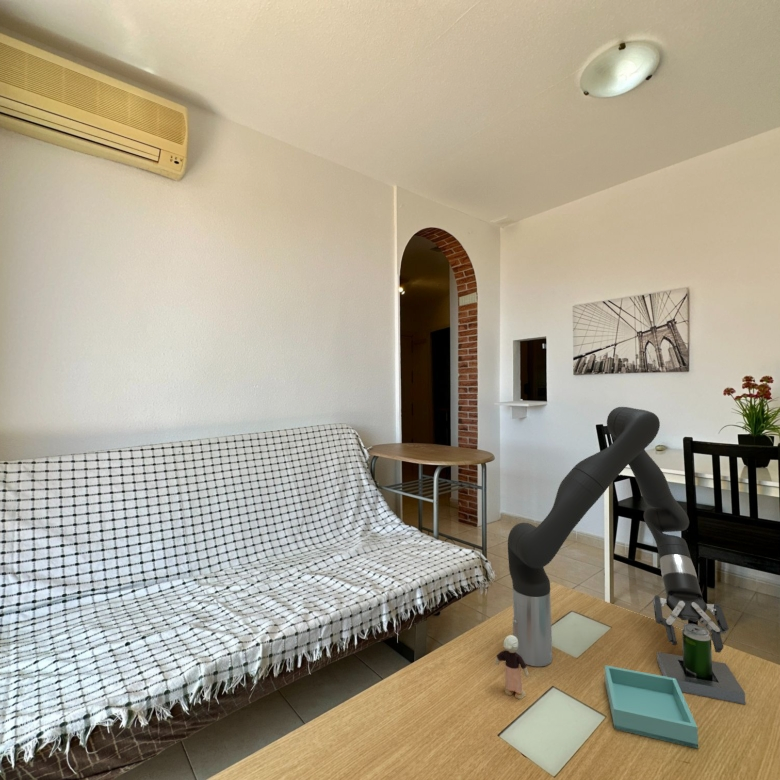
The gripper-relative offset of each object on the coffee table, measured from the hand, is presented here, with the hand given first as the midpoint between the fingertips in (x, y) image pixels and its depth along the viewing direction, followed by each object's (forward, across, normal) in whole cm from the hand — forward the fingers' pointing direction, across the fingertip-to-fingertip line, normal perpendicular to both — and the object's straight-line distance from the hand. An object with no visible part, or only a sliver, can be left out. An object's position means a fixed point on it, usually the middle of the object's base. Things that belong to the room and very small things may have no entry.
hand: (696, 647), depth 95 cm
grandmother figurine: (+18, -40, -7) cm, 44 cm away
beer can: (+6, 0, +5) cm, 8 cm away
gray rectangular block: (+6, 0, +5) cm, 8 cm away
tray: (+15, -13, -5) cm, 21 cm away
